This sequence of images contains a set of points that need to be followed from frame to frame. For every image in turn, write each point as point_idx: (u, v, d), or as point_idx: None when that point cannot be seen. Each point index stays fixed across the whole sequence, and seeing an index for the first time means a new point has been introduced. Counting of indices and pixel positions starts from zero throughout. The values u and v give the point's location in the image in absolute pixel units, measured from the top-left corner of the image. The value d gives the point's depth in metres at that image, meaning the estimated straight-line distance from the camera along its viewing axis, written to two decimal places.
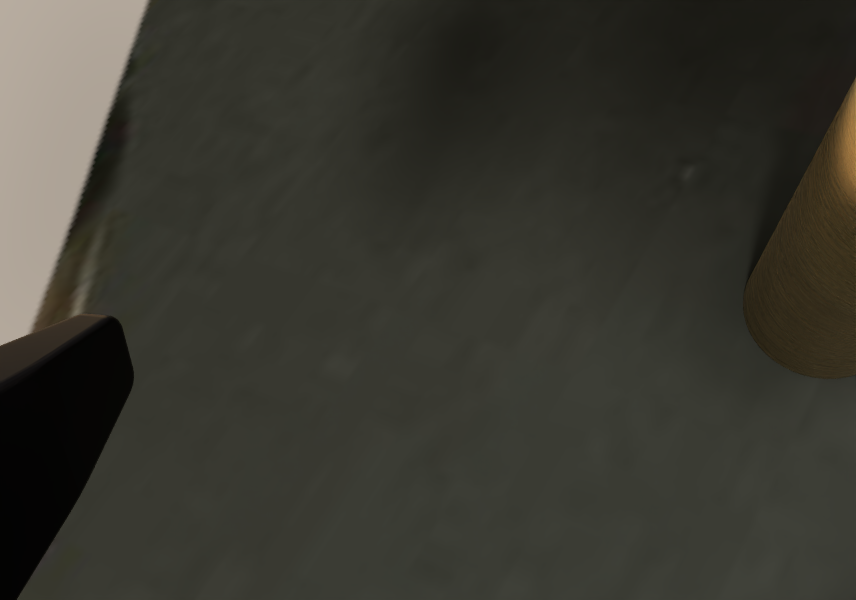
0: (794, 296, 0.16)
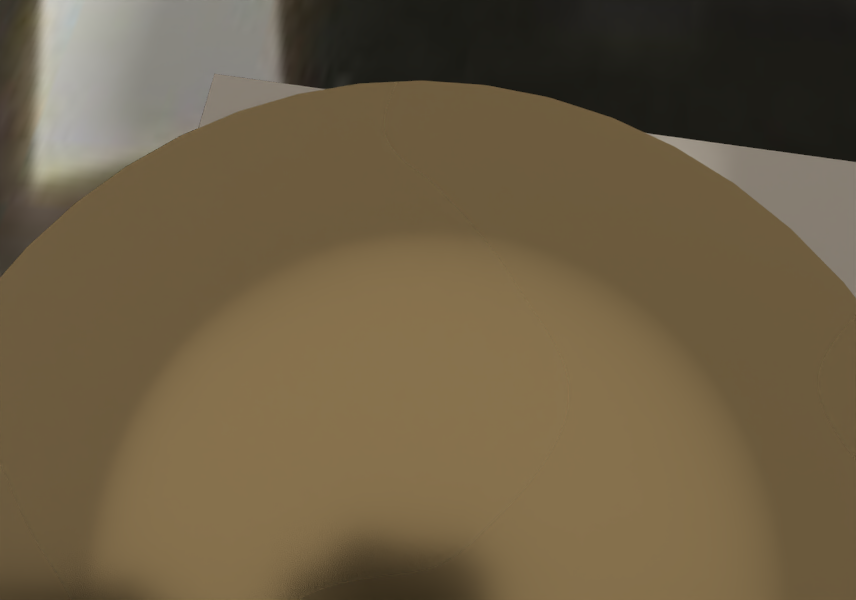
0: None
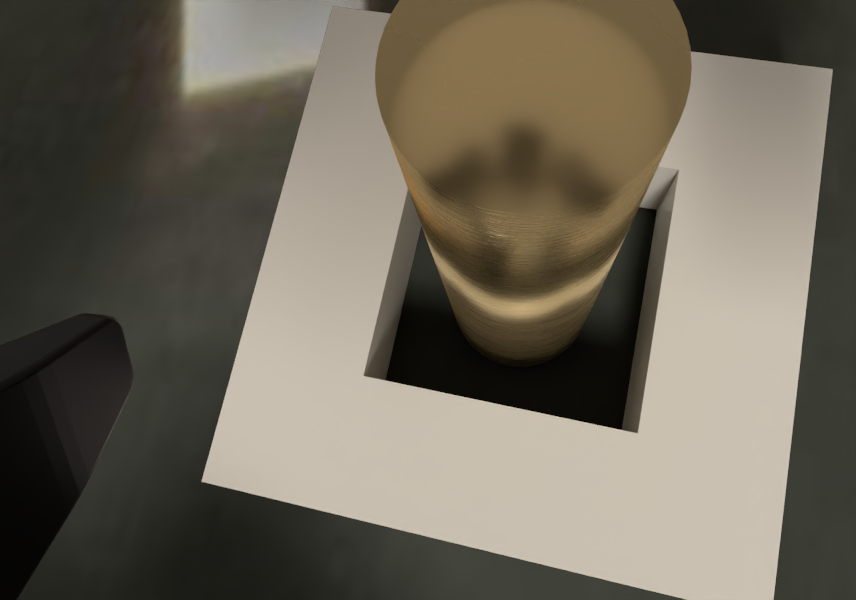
0: (464, 318, 0.17)
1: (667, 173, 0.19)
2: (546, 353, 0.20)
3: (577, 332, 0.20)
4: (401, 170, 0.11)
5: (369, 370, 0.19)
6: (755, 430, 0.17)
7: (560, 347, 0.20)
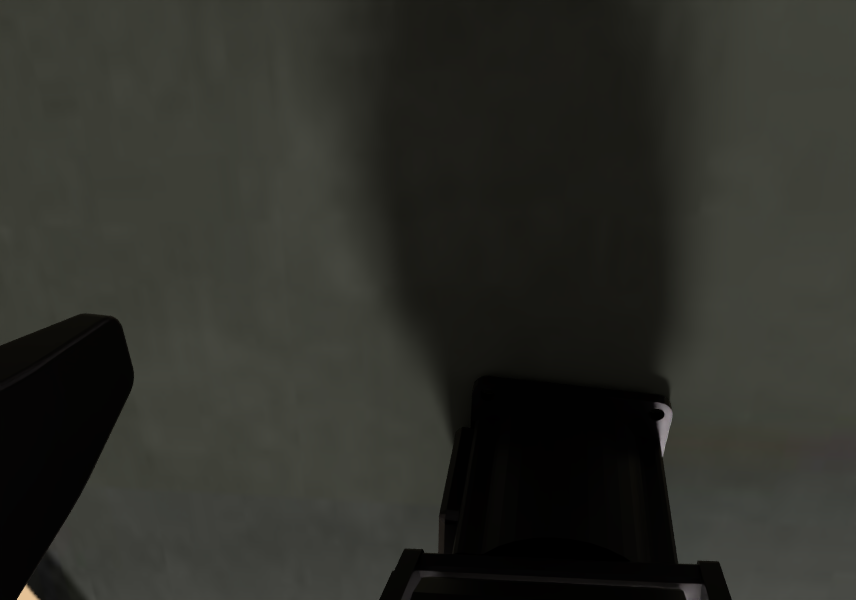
0: None
1: None
2: None
3: None
4: None
5: None
6: None
7: None
